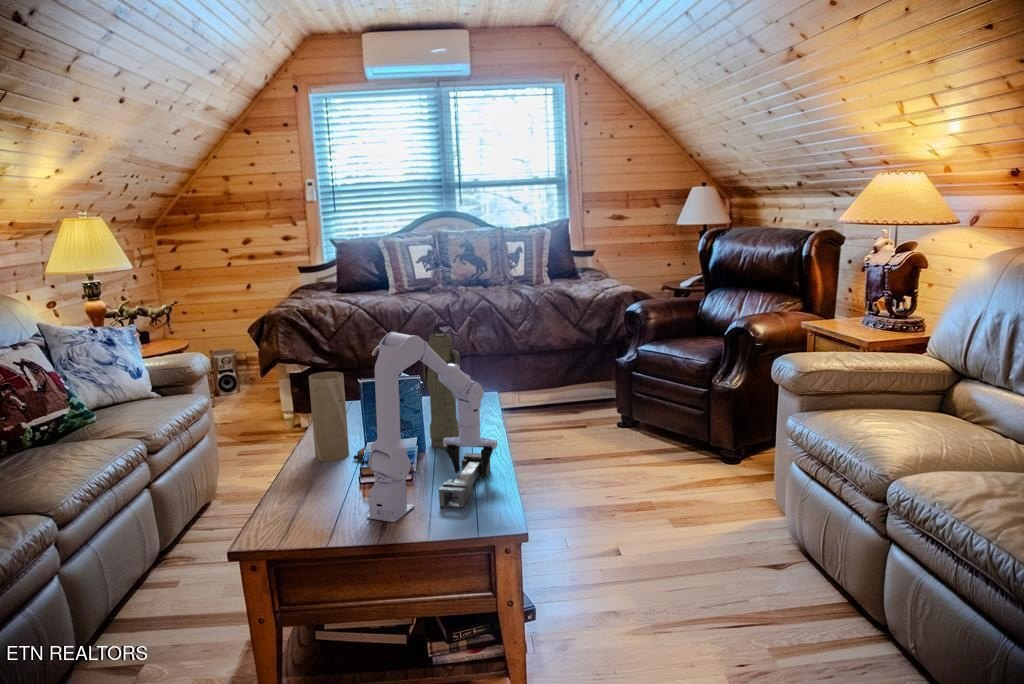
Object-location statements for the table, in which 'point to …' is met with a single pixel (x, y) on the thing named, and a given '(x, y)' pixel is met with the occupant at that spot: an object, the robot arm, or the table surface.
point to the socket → (474, 456)
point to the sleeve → (455, 502)
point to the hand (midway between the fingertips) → (471, 472)
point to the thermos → (441, 393)
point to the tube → (329, 416)
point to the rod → (469, 474)
